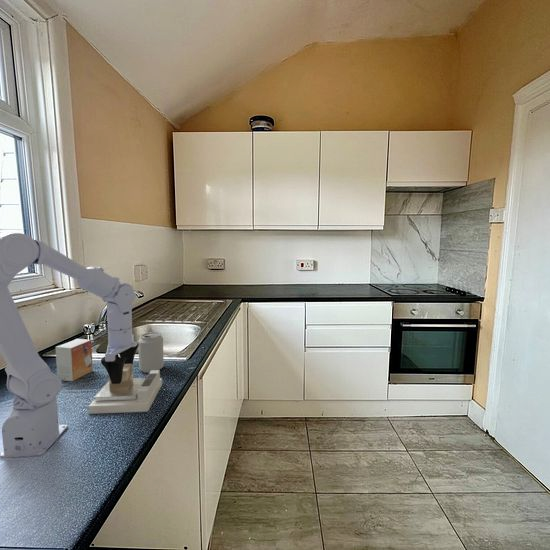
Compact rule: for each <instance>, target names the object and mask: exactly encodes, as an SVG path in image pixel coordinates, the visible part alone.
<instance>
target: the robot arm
mask: <svg viewBox="0 0 550 550" xmlns="http://www.w3.org/2000/svg"><path fill="white" fill-rule="evenodd" d="M31 265H44V266H46V267H48V268H50V269H52V270H54V271H57V272H59V273H61V274H64V275H66V276H68V277H70V278H71V279H72V278H73V279H75V280H76V283H77V285H78V288H80V289H82V290H84V291H86V292H88V293H90V294H93V295H95V296H96V297H99V298H101V300H102V302H104V303H106V313H107V315H106V316H107V318H106V319H107V337H108V339H107V340H108V343H107V349H106V352H105V354H104V356H103V357H102V358H101V359H100V364H101V365H102V366H103V368H105V370H106V372H107V375H108V378H109V377H110V380H111V383H112V384H120V383H121V381H122V374H123V367H124V364H133V365H134V359H135V355H136V353H137V350H138V349H139V347H138V346H139V344H138V341H135V334H133V313H132V312H133V311H132V310H133V307H134V305H133V303H134V302H135V300H136V297H137V292H135V290H134V288H133V286H132V285H131V284H129V283H124V282H121V281H120V278H119V277H117V276H111V275H110V274H108V273H107V272H105V269H104V268H103V267H100V266H88V267H84V266H83V265H81V264H80V263H78V262H77V261H75V260H73V259H71V258H70V257H68V256H66V255H65V254H63V253H62V252H60V251H58V250H57V249H55V248H53V247H52V246H50V245H48V244H46V243H45V242H43V241H42V240H37V239H34V238H33V237H31V236H29V235H28V234H26V233H21V232H14V233H13V232H11V233H8V232H7V233H6V232H0V355H1V356H2V358H3V360H4V362H5V364H6V366H5V368H4V371H5V372H6V375H7V379H6V388H7V390H8V392H10V393H11V394H14V399H13V401H12V411H11V413H10V415H9V416H8V417H7V418H6V419H5V421H4V422H3V423H2V426H1V437H2V446H3V451H2V452H1V453H0V458H15V457H33V456H42V455H43V454H45V453H46V452H47V450H48V449H49V448H50V447H51V446H52V445H53V444H54V443H55V442H56V441H57V440H58V439H59V437H60V436H61V435H62V434H64V432H65V431H66V429H67V428H69V425H68V424H59V413H58V395H59V394H60V392H61V390H62V386H63V385H62V380H61V379H60V378H59V377H58V376H57V374H55V373H53V372H52V370H51V369H50V366H49V365H48V364H47V363H46V362H45V361H44V359H42V357H41V356H40V354H39V352H38V350H37V348H36V346H35V345H34V342H33V340H32V338H31V336H30V335H31V334H30V332H29V331H28V329H27V326H26V324H25V322H24V320H23V318H22V316H21V314H20V312H19V309H18V306H17V305H16V303H15V301H14V298H13V297H12V294H11V291H10V290H9V288H8V287H9V285H10V284H11V282H12V281H13V280H14V278H15V277H16V276H17V274H19V273H20V272H22V271H23V270H25V269H26V268H28V267H29V266H31Z"/></svg>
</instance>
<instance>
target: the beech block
mask: <svg viewBox="0 0 550 550" xmlns="http://www.w3.org/2000/svg"><path fill="white" fill-rule="evenodd" d="M133 368H134V363H133V364H124V367H123V374H122V381H121V383H120V384H112V383H111V380H110V377H109V376H108V381H109V388H110V391H128V390H129V388H130V387H131V385H132V384H133V378H134V369H133Z"/></svg>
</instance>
